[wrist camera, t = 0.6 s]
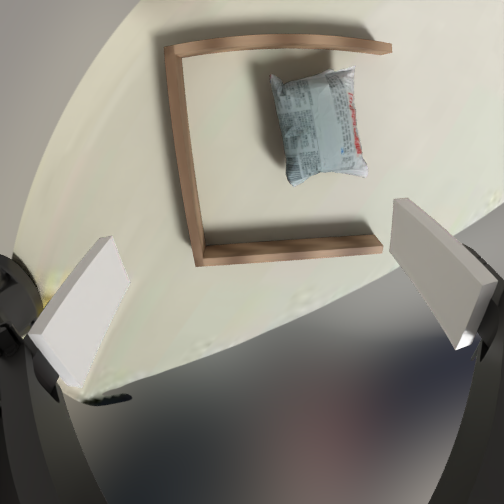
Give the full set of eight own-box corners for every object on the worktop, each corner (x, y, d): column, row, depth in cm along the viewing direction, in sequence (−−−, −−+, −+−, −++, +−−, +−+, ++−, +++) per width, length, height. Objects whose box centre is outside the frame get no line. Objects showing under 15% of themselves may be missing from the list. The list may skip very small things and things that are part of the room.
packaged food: (348, 68, 25) (363, 63, 20) (361, 173, 30) (377, 185, 26) (266, 77, 26) (267, 72, 21) (286, 183, 31) (290, 198, 27)
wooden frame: (199, 253, 36) (195, 266, 33) (171, 51, 24) (163, 47, 21) (373, 241, 35) (382, 253, 33) (379, 46, 23) (391, 43, 20)
